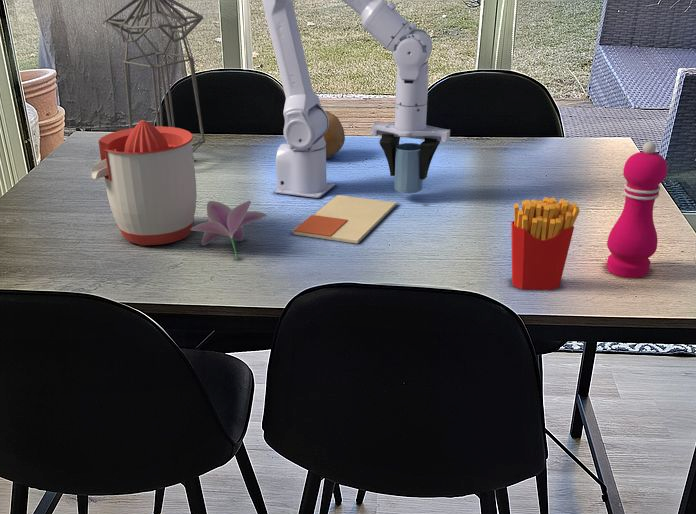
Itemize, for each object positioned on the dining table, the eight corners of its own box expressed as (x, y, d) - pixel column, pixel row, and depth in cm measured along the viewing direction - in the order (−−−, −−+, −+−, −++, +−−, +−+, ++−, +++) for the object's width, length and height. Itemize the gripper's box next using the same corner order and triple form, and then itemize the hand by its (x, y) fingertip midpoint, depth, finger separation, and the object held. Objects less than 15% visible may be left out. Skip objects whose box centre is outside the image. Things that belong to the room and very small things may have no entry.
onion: (303, 150, 187) (302, 105, 182) (347, 151, 186) (347, 106, 181) (296, 163, 179) (295, 117, 174) (342, 164, 178) (342, 117, 173)
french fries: (507, 289, 124) (516, 206, 117) (504, 277, 127) (512, 196, 121) (570, 290, 123) (582, 206, 116) (565, 278, 126) (577, 196, 120)
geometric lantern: (169, 149, 191) (150, -17, 173) (220, 159, 183) (206, -13, 165) (118, 166, 180) (92, -9, 162) (170, 179, 172) (149, -4, 154)
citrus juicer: (95, 228, 149) (76, 116, 138) (189, 213, 154) (177, 104, 144) (112, 260, 136) (92, 139, 126) (213, 242, 142) (202, 125, 132)
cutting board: (293, 234, 144) (293, 230, 144) (337, 197, 160) (337, 193, 159) (357, 243, 140) (357, 239, 139) (396, 205, 156) (396, 201, 155)
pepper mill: (596, 261, 132) (615, 136, 121) (640, 259, 132) (663, 133, 122) (613, 280, 125) (636, 150, 115) (659, 278, 126) (686, 147, 116)
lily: (279, 249, 141) (262, 194, 141) (262, 248, 130) (245, 189, 129) (214, 269, 144) (198, 215, 143) (193, 270, 132) (175, 212, 131)
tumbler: (390, 191, 156) (391, 149, 152) (399, 182, 160) (400, 141, 156) (417, 194, 154) (419, 152, 150) (425, 185, 158) (427, 144, 154)
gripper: (365, 104, 149) (364, 178, 156) (444, 111, 143) (439, 187, 150) (379, 95, 154) (377, 167, 161) (454, 102, 149) (450, 175, 156)
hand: (408, 176), depth 156 cm, fingers closed on tumbler, 5 cm apart
